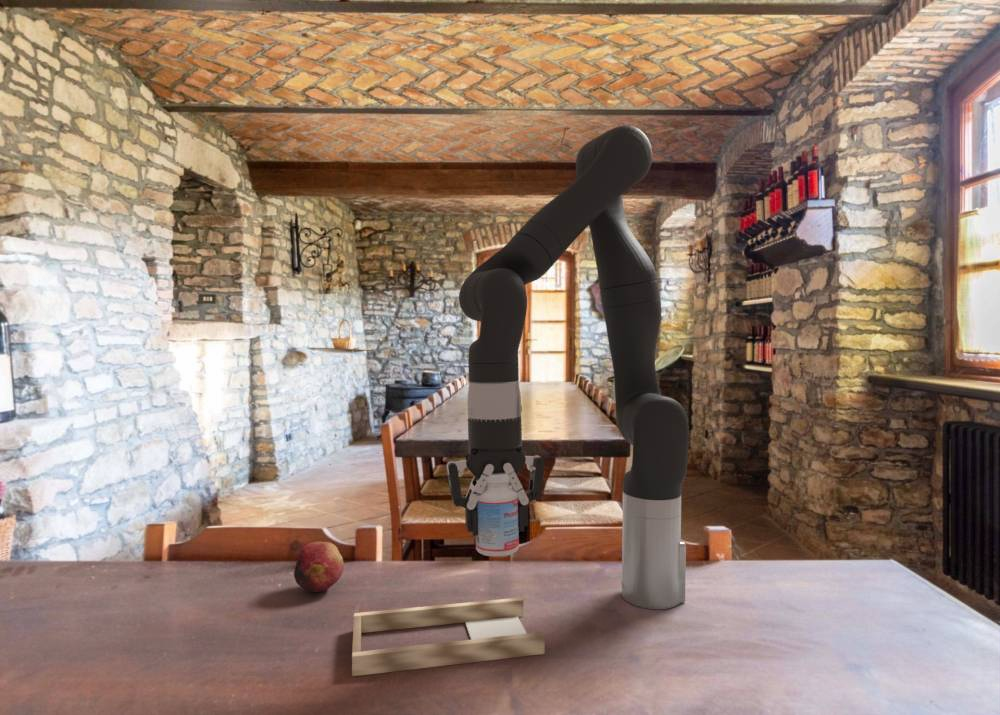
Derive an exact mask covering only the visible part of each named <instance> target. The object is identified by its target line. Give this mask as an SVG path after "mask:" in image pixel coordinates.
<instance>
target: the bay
mask: <svg viewBox="0 0 1000 715" xmlns="http://www.w3.org/2000/svg"><path fill="white" fill-rule="evenodd" d="M509 617H518V618H521V617H524V599H523V597H522V596H521V597H512V598H501V599H491V600H489V599H488V600H481V601H479V600H478V601H471V602H469V601H467V602H460V603H447V604H437V605H436V604H435V605H428V606H415V607H406V608H405V607H404V608H396V609H395V608H394V609H384V610H372V611H363V612H354V613H353V627H352V629H353V632H352V650H351V652H352V653H351V663H352V664H351V676H352V677H356V676H367V675H374V674H375V675H376V674H384V673H391V672H400V671H409V670H420V669H427V668H436V667H444V666H450V665H451V666H452V665H461V664H469V663H477V662H487V661H495V660H503V659H511V658H520V657H527V656H528V657H529V656H536V655H537V656H538V655H544V654H545V644H546V643H545V636H546V635H545V634H544V632H543V631H539V632H529V633H527V632H526V633H527V634H518V635H509V636H500V637H490V638H481V639H472V640H471V639H464V640H454V641H447V642H446V641H444V642H437V643H429V644H418V645H408V646H400V647H392V648H390V647H389V648H382V649H381V648H380V649H379V648H378V649H372V650H371V649H370V650H364V651H362V633H364V634H365V633H373V632H375V633H376V632H382V631H383V632H384V631H393V630H401V629H411V628H422V627H434V626H441V625H442V626H443V625H451V624H461V623H465V622H469V621H479V620H489V619H499V618H509Z"/></svg>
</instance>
